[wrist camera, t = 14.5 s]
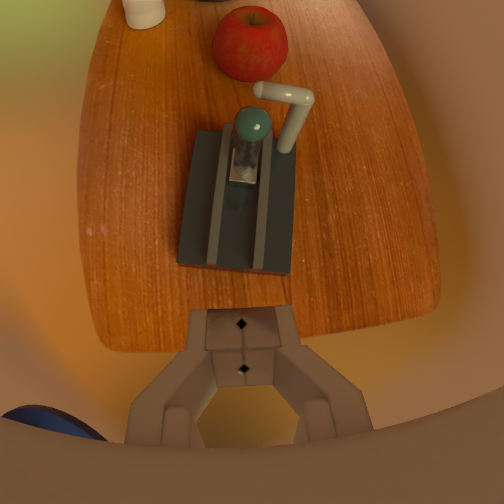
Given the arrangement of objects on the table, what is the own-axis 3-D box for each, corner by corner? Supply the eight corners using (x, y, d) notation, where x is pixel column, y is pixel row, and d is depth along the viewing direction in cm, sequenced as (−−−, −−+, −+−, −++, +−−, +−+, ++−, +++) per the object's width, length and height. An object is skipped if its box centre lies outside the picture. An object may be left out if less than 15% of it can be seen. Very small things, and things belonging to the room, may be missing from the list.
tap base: (179, 266, 35) (157, 240, 22) (198, 141, 38) (192, 69, 25) (284, 276, 36) (323, 257, 23) (291, 152, 39) (322, 86, 26)
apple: (210, 43, 42) (211, -7, 31) (277, 43, 43) (289, -5, 33) (212, 90, 40) (213, 37, 30) (288, 89, 41) (305, 39, 31)
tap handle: (227, 185, 34) (232, 131, 23) (230, 154, 35) (237, 92, 24) (255, 188, 35) (273, 136, 23) (258, 157, 35) (275, 97, 24)
